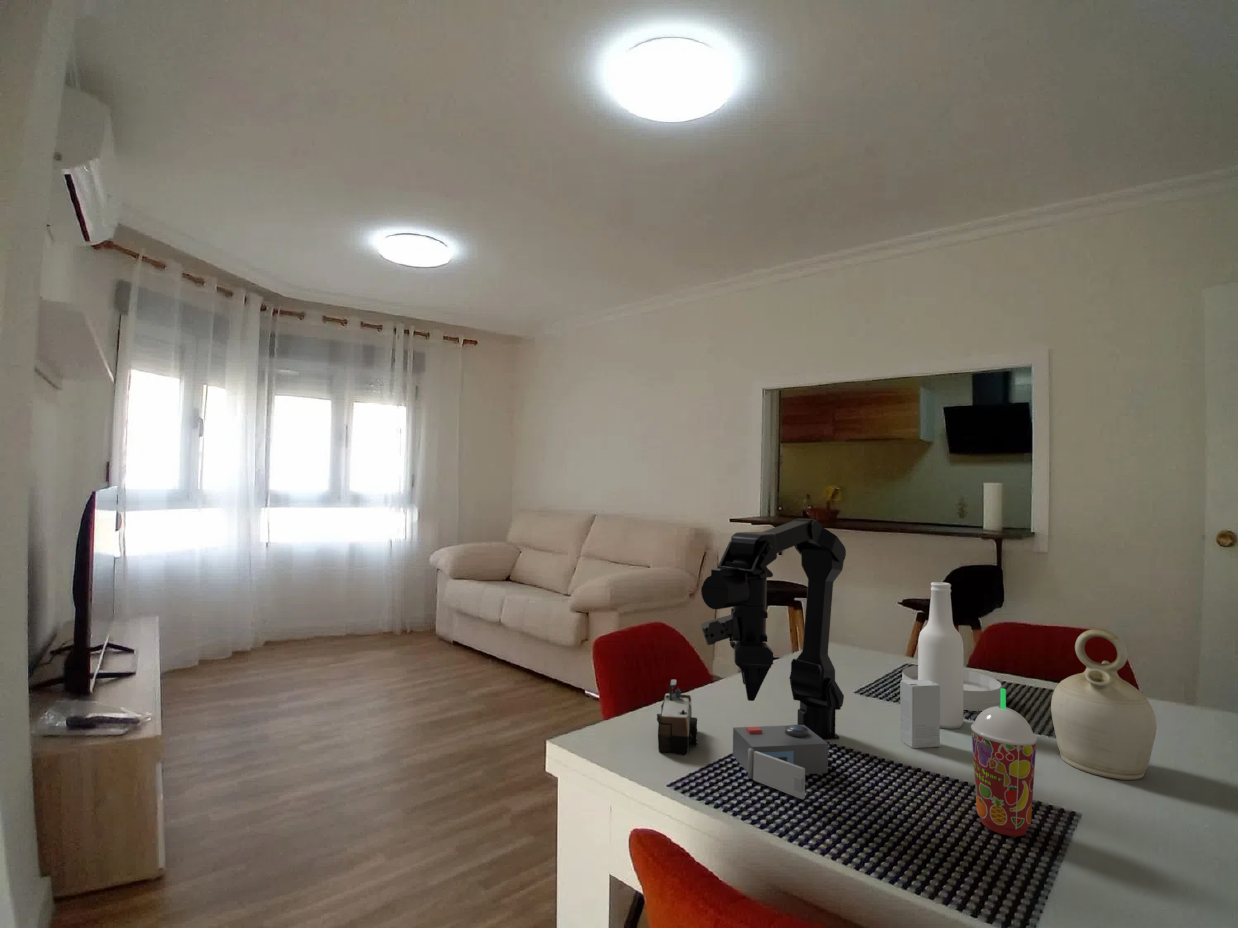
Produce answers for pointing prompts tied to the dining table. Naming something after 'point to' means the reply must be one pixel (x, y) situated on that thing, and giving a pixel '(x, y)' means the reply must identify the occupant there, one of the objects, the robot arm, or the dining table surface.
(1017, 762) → the smoothie
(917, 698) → the skincare box
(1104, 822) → the dining table surface
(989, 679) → the dish
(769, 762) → the side door
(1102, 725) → the jug
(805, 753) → the grey appliance box
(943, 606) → the alcohol
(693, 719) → the camera
